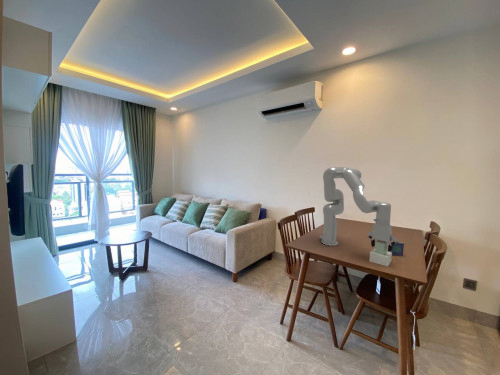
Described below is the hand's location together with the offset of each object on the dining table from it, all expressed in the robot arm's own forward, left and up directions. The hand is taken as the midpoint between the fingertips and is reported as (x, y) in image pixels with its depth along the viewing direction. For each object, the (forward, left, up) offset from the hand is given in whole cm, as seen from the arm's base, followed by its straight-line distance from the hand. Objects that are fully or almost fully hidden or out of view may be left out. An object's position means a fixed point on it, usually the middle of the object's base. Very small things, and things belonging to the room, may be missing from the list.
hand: (381, 248), depth 133 cm
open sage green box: (0, 0, -3) cm, 3 cm away
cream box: (0, 0, -9) cm, 9 cm away
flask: (+2, +19, -9) cm, 21 cm away
